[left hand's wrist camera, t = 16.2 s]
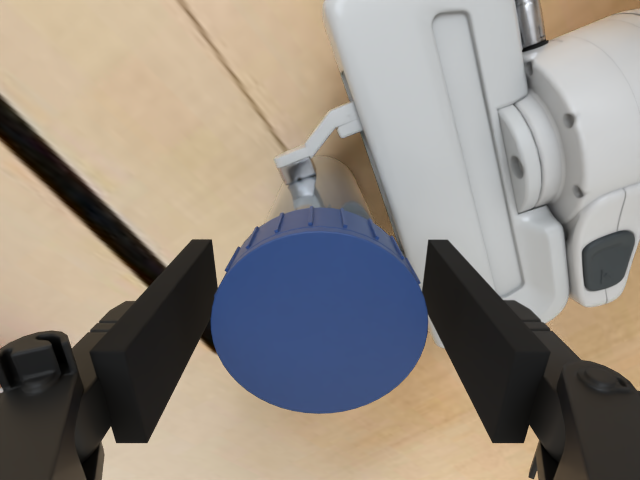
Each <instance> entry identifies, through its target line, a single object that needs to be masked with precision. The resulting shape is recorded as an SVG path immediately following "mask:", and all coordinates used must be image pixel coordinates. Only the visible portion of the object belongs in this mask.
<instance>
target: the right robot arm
mask: <svg viewBox="0 0 640 480" xmlns="http://www.w3.org/2000/svg"><path fill="white" fill-rule="evenodd" d="M322 20H323V24H324V27H325V30H326V33H327V36H328V39H329V42H330V45H331V48H332V51H333V54H334V57H335V60H336V63H337V66H338V69H339V72H340V75H341V77H342V80H343V83H344V86H345V89H346V92H347V95H348V98H349V102H347V103H345V104H342V105H340V106H338V107H335V108H333V109H331V110H329V111H328V112H327V113H326V115H325V116H324V117H323V119H322V120H321V121H320V123H319V124H318V125H317V127H316V128H315V129H314V131H313V132H312V133H311V135H310V136H309V137H308V139H307V140H306V142H305V144H302V145H300V146H298V147H295V148H293V149H290V150H288V151H285V152H283V153H281V154H279V155H277V156H276V157H275V158H274V162H275V164H276V167H277V169H278V171H279V173H280V175H281V178H282V180H283V182H284V184H285V185H290V184H293V183H294V182H296V181H297V180H298V178H302V179H304V178H308V177H310V176H313V175H315V174H316V166H315V163H314V160H313V158H312V157H313V156H314V155H315V153H316V152H317V151H318V150H319V148H320V147H321V146H322V145H323V143H324V142H325V141H326V139H327V138H328V137H329V136H330V134H331V133H332V132H333V131H334V129H335V128H336V130H337V132H338V134H339V136H340V137H341V138H345V137H348V136H350V135H353V134H355V133H358V132H360V134H361V136H362V139H363V142H364V145H365V148H366V151H367V154H368V157H369V160H370V163H371V166H372V169H373V172H374V175H375V178H376V181H377V184H378V187H379V190H380V193H381V195H382V198H383V201H384V204H385V207H386V210H387V213H388V216H389V219H390V222H391V225H392V228H393V231H394V234H395V237H396V240H397V243H398V246H399V248H400V250H401V252H402V254H403V256H404V257H405V258H407V259H408V260H409V262H410V264H411V266H412V268H413V269H414V271H415V273H416V275H417V277H418V278H419V280H420V284H419V286H420V288H421V291H422V287H423V278H424V270H425V262H426V254H427V245H428V240H449V241H450V243H451V244H452V245H453V246H454V247H455V248H456V249H457V250H458V251H459V252H460V253H461V255H462V256H463V257H464V258H465V259H466V260H467V261H468V262H469V263H470V264H471V265H472V266H473V268H474V269H475V270H476V271H477V272H478V273H479V274H480V275H481V276H482V277H483V278H484V280H485V281H486V282H487V283H488V284H489V285H490V286H491V287H492V288H493V289H494V290H495V292H496V293H497V294H498V295H499V296H500V297H501V298H502V299H503V300H515V301H517V302H519V303H520V304H522V305H524V306H526V307H527V308H529V309H531V310H532V311H533V312H534V313H535V314H536V315H537V316H538V317H539V318H540V319H541V322H544V323H547V322H549V321H550V320H552V319H553V318H555V317H556V316H557V315H558V314H559V313H560V312H561V311H562V310H563V308H564V307H565V305H566V303H567V301H568V298H569V297H570V298H571V299H573V300H574V301H576V302H578V303H579V304H581V305H582V306H584V307H596V306H600V305H604V304H607V303H609V302H612V301H614V300H615V299H617V298H618V297H619V296H620V295H621V294H622V292H623V290H624V288H625V285H626V282H627V278H628V275H629V271H630V268H631V265H632V261H633V258H634V255H635V252H636V249H637V246H638V243H639V241H640V8H639V9H633V10H627V11H622V12H619V13H616V14H613V15H610V16H607V17H605V18H603V19H600V20H598V21H595V22H593V23H590V24H588V25H586V26H583V27H581V28H578V29H576V30H574V31H571V32H569V33H566V34H564V35H561V36H559V37H556V38H554V39H551V40H549V41H548V40H547V41H546V36H545V29H544V22H543V15H542V8H541V3H540V0H324V2H323V6H322ZM428 330H429V332H430V334H431V336H432V338H433V340H434V342H435V344H436V345H437V346H438V347H441V348H444V349H445V347H444V346H443V344H442V342H441V340H440V338H439V336H438V334H437V332H436V330H435V328H434V326H433V324H432V322H431V320H430V318H429V316H428Z"/></svg>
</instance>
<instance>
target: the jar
mask: <svg viewBox="0 0 640 480" xmlns="http://www.w3.org/2000/svg"><path fill="white" fill-rule="evenodd" d="M312 158H313V160H314V163H315V166H316V174H315V175H313V176H310V177H308V178H304V179H302V178H298V180H297V181H296V182H294V183H293V184H290V185H285V184H284V182H283V183H282V185H281V187H280V190H279V192H278V194H277V196H276V198H275V201H274V203H273V205H272V207H271V209H270V212H269V214H268V216H267V218H266V220H265V223H267V222H268V221H270V220H271V219H273V218H276V217H278V216H279V215H280V213H282V212H283V213H284V214H285V213H288V212H291V211H295V210H300V209H305V208H310V206H313V208H319V207H322V208H334V209H339V210H340V208H344V211H348V212H351V213H354V214H357V215H359V216H361V217H363V218H365V219H367V220H368V219H369V218H370V219H372V221H373V223H374V224H375V222H374V219H373V217H372V215H371V213H370V211H369V208H368V206H367V204H366V202H365V199H364V197H363V195H362V193H361V190H360V188H359V186H358V184H357V182H356V179H355V177H354V175H353V174H352V172H351V171H350V169H349V168H348V167H347V166H346V165H344V164H343V163H342V162H340V161H339V160H337V159H335V158H332V157H328V156H313V157H312ZM265 223H264V224H265Z"/></svg>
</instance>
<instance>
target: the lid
mask: <svg viewBox="0 0 640 480" xmlns="http://www.w3.org/2000/svg"><path fill="white" fill-rule="evenodd" d="M225 271H226V272H227V273H226V274H225V276H224V278H223V280H222V282H221V284H220V285H219V287H218V289H217V291H216V293H215V295H214V302H213V305H212V312H211V333H212V338H213V343H214V346H215V348H216V351H217V354H218V356H219V358H220V360H221V362H222V364H223V365H224V367H225V368H226V369H227V371H228V372H229V374H230V375H231V376H232V377H233V378H234V379H235V380H236V381H237V382H238V383H239V384H240V385H241V386H242V387H244V388H245V389H246V390H247V391H249V392H250V393H252V394H253V395H255V396H256V397H258V398H260V399H262V400H264V401H266V402H268V403H270V404H272V405H275V406H278V407H280V408H284V409H288V410H292V411H297V412H303V413H316V414H321V413H335V412H343V411H347V410H351V409H355V408H358V407H361V406H364V405H367V404H369V403H371V402H373V401H375V400H378V399H379V398H381V397H383V396H384V395H386V394H388V393H389V392H390V391H392V390H393V389H394V388H395V387H397V386H398V385H399V384H400V383H401V382H402V381H403V380H404V379H405V378H406V377H407V376H408V375H409V373H410V372H411V371H412V369H413V368H414V367H415V365H416V363H417V362H418V360H419V358H420V356H421V354H422V351H423V349H424V346H425V342H426V338H427V333H428V312H427V306H426V302H425V298H424V295H423V293H422V291H421V288H420V286H419V284H420V280H419V278H418V277H417V275H416V273H415V271H414V269H413V268H412V266H411V264H410V262H409V260H408V259H407V258H405V257H404V256H403V254H402V252H401V250H400V248H399V246H398V244H397V243H396V241H395V239H394V237H393V236H391V237H390V236H389V235H388V234H387V233H386V232H384V231H383V230H382V229H381V228H380V227H378V226H377V225H376V224H374V223H373V221H372V219H370V218H369V219H368V220H367V219H365V218H363V217H361V216H359V215H357V214H354V213H351V212H348V211H344V208H340V210H339V209H334V208H322V207H319V208H313V206H310V208H305V209H300V210H295V211H291V212H288V213H285V214H284V213H283V212H282V213H280V215H279V216H278V217H276V218H273V219H271V220H270V221H268V222H267V223H265V224H263V225H262V226H260V227H258V226H257V227H256V228H255V229H254V231H253V233H252V234H251V235H250V236H249V238H248V239H247V240H246V241H245V242H244V243H243V245H242V246H241V248H240V247H238V248H237V249H236V251H235V253H234V255H233V257H232V258H231V260H230V262H229V264H228V265H227V267H226V269H225Z"/></svg>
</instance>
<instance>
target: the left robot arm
mask: <svg viewBox="0 0 640 480" xmlns="http://www.w3.org/2000/svg"><path fill="white" fill-rule="evenodd" d="M217 289H218V287H217V278H216V270H215V262H214V254H213V245H212V240H191V241H190V243H189V244H188V245H187V246H186V247H185V248H184V249H183V250H182V251H181V252H180V253H179V255H178V256H177V257H176V258H175V259H174V260H173V261H172V262H171V263H170V264H169V265H168V266H167V268H166V269H165V270H164V271H163V272H162V273H161V274H160V275H159V276H158V277H157V278H156V280H155V281H154V282H153V283H152V284H151V285H150V286H149V287H148V288H147V289H146V290H145V292H144V293H143V294H142V295H141V296H140V297H139V298H138V299H137V300H136V301H125V302H124V303H122V304H120V305H118V306H117V307H115V308H113V309H112V310H110V311H109V312H108V313H107V314H106V315H105V316H104V317H103V318H102V319H101V320H100V321H99V323H97V324H96V325H95V326H94V327H93V328H92V329H91V330H90V332H88V333H87V334H86V335H85V336H84V337H83V338H82V339H81V340H80V341H79V342H78V343H77V344H76V345H75V346H74V347H73V348H71V345H70V342H69V339H68V336H67V335H66V334H64V333H63V332H59V331H45V332H38V333H34V334H31V335H27V336H24V337H21V338H19V339H17V340H15V341H13V342H10V343H8V344H7V345H5V346H4V347H2V348H1V349H0V384H1V387H2V389H3V392H2V393H0V480H102V472H103V463H104V450H103V446H102V443H101V441H102V439H103V437H104V436H105V434H106V433H107V431H108V430H109V428H110V427H112V430H113V434H114V437H115V441H116V443H148V441H149V439H150V437H151V435H152V433H153V431H154V429H155V427H156V425H157V423H158V421H159V419H160V417H161V415H162V413H163V411H164V409H165V407H166V405H167V403H168V401H169V399H170V397H171V395H172V393H173V391H174V389H175V387H176V385H177V383H178V381H179V379H180V377H181V375H182V373H183V371H184V369H185V367H186V365H187V363H188V361H189V359H190V357H191V355H192V353H193V351H194V349H195V347H196V346H197V344H198V342H199V340H200V338H201V336H202V334H203V332H204V330H205V328H206V326H207V324H208V322H209V320H210V318H211V312H212V305H213V302H214V295H215V293H216V291H217ZM422 293H423V295H424V298H425V302H426V306H427V312H428V316H429V318H430V320H431V322H432V324H433V326H434V328H435V330H436V332H437V334H438V336H439V338H440V340H441V342H442V344H443V346H444V347H445V349H446V351H447V353H448V355H449V357H450V359H451V361H452V363H453V365H454V367H455V369H456V371H457V373H458V375H459V377H460V379H461V381H462V383H463V385H464V387H465V389H466V391H467V393H468V395H469V397H470V399H471V401H472V403H473V405H474V407H475V409H476V411H477V413H478V415H479V417H480V419H481V421H482V423H483V425H484V427H485V429H486V431H487V433H488V435H489V437H490V439H491V441H492V443H524V441H525V437H526V434H527V430H528V427H529V425H530V426H531V428H532V429H533V431H534V432H535V434H536V436H537V437H538V439H539V443H538V446H537V449H536V452H535V455H534V458H533V461H532V465H531V468H530V472H529V478H532V479H534V477H535V474H536V471H538V479H539V480H640V391H637V390H636V389H635V388H634V386H633V385H632V384H631V382H630V381H628V380H627V379H626V378H625V377H623V376H622V375H621V374H619V373H618V372H616V371H614V370H612V369H610V368H608V367H606V366H603V365H600V364H597V363H594V362H591V361H584V360H581V359H580V358H579V357H578V356H577V355H576V354H575V353H574V352H573V351H572V350H571V349H570V348H569V347H568V346H567V345H566V344H565V343H564V342H563V341H562V340H561V339H560V338H559V337H558V336H557V335H556V334H555V333H554V332H553V331H550V328H549V327H548V326H547V325H546V324H545V323H544V322H541V319H540V318H539V317H538V316H537V315H536V314H535V313H534V312H533V311H532V310H531V309H529V308H527V307H526V306H524V305H522V304H520V303H519V302H517V301H515V300H503V299H502V298H501V297H500V296H499V295H498V294H497V293H496V292H495V290H494V289H493V288H492V287H491V286H490V285H489V284H488V283H487V282H486V281H485V280H484V278H483V277H482V276H481V275H480V274H479V273H478V272H477V271H476V270H475V269H474V268H473V266H472V265H471V264H470V263H469V262H468V261H467V260H466V259H465V258H464V257H463V256H462V255H461V253H460V252H459V251H458V250H457V249H456V248H455V247H454V246H453V245H452V244H451V243H450V241H449V240H428V245H427V254H426V262H425V270H424V278H423V287H422Z"/></svg>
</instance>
